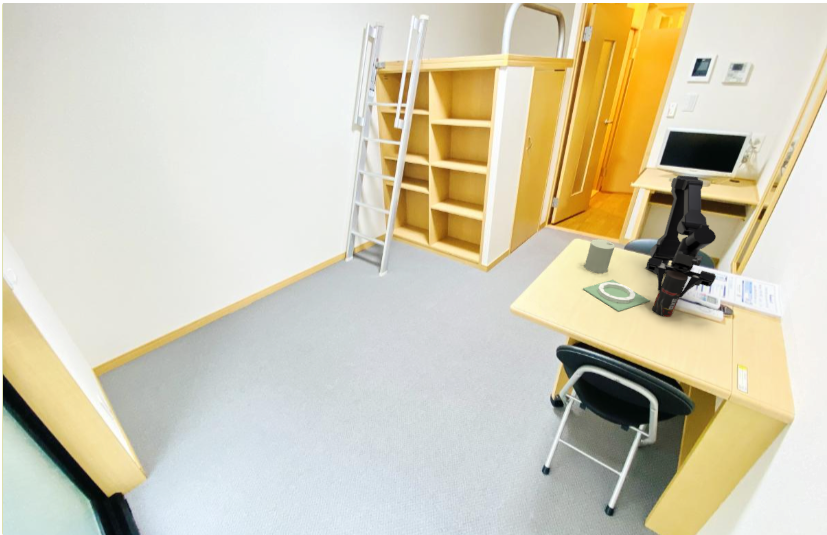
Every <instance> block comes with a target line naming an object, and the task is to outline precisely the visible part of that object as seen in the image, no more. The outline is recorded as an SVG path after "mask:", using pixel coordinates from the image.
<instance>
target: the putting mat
mask: <svg viewBox="0 0 827 535" xmlns="http://www.w3.org/2000/svg"><path fill="white" fill-rule="evenodd" d="M582 290H583V291H585V292H587V293H588V294H589V295H591V296H593V297H594V298H596V299H597V300H599V301H600V302H602V303H603V304H606V305H607V306H608V307H609V308H612V309H613V310H614V311H616V312H617V313H618V312H623V311H624V310H628V309H631V308H635V307H637V306H640V305H644V304H646V303H650V301H651V300H650V299H649V298H646V297H645V296H643V295H642V294H639V293H638V292H636V291H635V290H633V289H632V288H630V287H629V286H627V285H625V284H622V283H620V282H618V281H616V280H614V279H610V280H606V281H604V282H600V283H596V284H593V285H590V286H586V287H583V288H582Z"/></svg>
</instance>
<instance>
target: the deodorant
mask: <svg viewBox="0 0 827 535" xmlns="http://www.w3.org/2000/svg"><path fill="white" fill-rule="evenodd" d="M687 281H689V277H688V276H687V275H685V274H683V273H681V272H677V271H668V272H667V273H665V274H664V277H663V281H662V285H661V288H660V290H659V291H658V293H657V295H656V298H655V300H654V303H653V305H652V308H651V311H652V312H653V313H654V314H656V315H658V316H660V317H663V318H664V317H665V318H669V317H671V316H672V315H673V313H674V311H675V309H676V306H677V303H678V301H679V300H680V298H681V297H680V295H681V293H682V291H683V290H684V288H685V287H686V285H687V283H688V282H687Z"/></svg>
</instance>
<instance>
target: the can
mask: <svg viewBox="0 0 827 535" xmlns="http://www.w3.org/2000/svg"><path fill="white" fill-rule="evenodd" d="M615 248H616V246H615V244H614V243H613V242H611V241H609V240H606V239H598V238H597V239H592V240H591V241H590V245H589V249H588V253H587V255H586V260H585V263H584V266H583V267H584V268H585V270H587V271H588V272H589V271H590V272H592V273H597V274H605V273H607V272H608V271H609V270H608V269H609V265H610V263H611V259H612V256H613V252H614V249H615Z"/></svg>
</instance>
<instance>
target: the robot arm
mask: <svg viewBox="0 0 827 535" xmlns="http://www.w3.org/2000/svg"><path fill="white" fill-rule="evenodd" d="M703 186H704V180H701V179H699V177H698V176H691V175H689V176H688V175H677V177H673V179H672V181H671V183H670V187H671V189H670V190H671V191H670V192H671V194H672V195H671V196H672V197H673V201H672V203H671V204H672V205H671V209H670V212H669V214H668V219H667V224H666V226H665V230H664V233H663V235H662V236H660V238H658V239H657V240H656V243H655V244H654V245H653V246H652V247H651V248H650V251H649V255H650V258H648V260H647V262H646V266H645V268H644V269H646V270H648V271H650V272H652V273H654V274H656V277H657V291H658V292H659V290H660V288H661V285H662V283H663V280H664V278H665V274H666V273H667V272H668V271H677V272H681V273H683V274H685V275H687V276H688V278H689V279H688V282H686V284H685V286H684V289H683V291H682V293H681V295H680V297H679V298H682V297H683V296H684V295H686V293H688V291H689V290H691V289H692V288H693V287H695V286H697V287H698V286H700V285H702V286H706V287H711V286H713V283H714V282H715V280H716V277H717V275H716V274H715V273H713V272H708V271H705V270H701V271H700V273H698V272H694V271H692V270H693V268H694V266H697V267H699V266H700V265H701V263H702V260H703V258H704V256H701V255H699V252H700V250H703V249H704V248H706V247H708V246H709V245H710V244H712V243H714V242H715V240H716V238H717V237H716V236H717V235H716V233H715V232H714V231H713V229H711V228H710V225H709V224H708V223H707V217H706V216H705V215H704V214H703V213H702V188H703ZM679 235H681V236H685V237H683V238H682V239H681V241H680V239H679ZM670 261H671V263H670ZM669 263H670V265H669Z"/></svg>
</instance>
